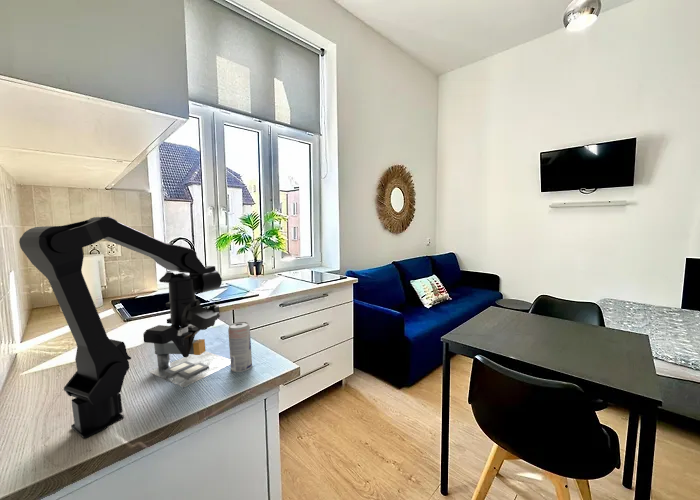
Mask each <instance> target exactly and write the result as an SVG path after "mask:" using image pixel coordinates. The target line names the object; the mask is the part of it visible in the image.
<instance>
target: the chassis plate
mask: <svg viewBox="0 0 700 500" xmlns="http://www.w3.org/2000/svg"><path fill="white" fill-rule="evenodd" d="M156 359H157V368H155V369H152V370H150V371H148V373H150V374H153V375H154V376H156V377H159V378H161V379H164V380H165V381H167V382H171V384H174V385H177V386H179V387H182V388H183V389H184V388H186V387H188V386H190V385H192V384H194V383H196V382H198V381H200V380H202V379H204V378H206V377H208V376H210V375H212V374H214V373H216V372H218V371H220V370H222V369H224V368H226V367H228V366H231V362H230V358H227V357H224V356H221V355H218V354H215V353H212V352H210V351H205V352H203V353H202V354H201V355H194V354H189V356H188V357H183V356H182V357H181V358H178V359H177V360H174V361H172V362H171V358H170V354H161V355H156ZM185 361H187V362H190V363H193V364H195V365H196V364H198V363H202V364H205V365H208V366H209V368H207V369H205V370H203V371H201V372H199V373H197V374H195V375H193V376H191V377H189V378H186V377H183V376H181V375H179V374H176V375H174V376H171V375H169V374H167V373H164V370H166V369H168V368H171V367H173V366H175V365H178V364H180V363H183V362H185Z"/></svg>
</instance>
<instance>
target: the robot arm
mask: <svg viewBox="0 0 700 500" xmlns="http://www.w3.org/2000/svg"><path fill="white" fill-rule="evenodd" d="M101 240H106V241H108V242H111V243H113V244H116V245H118V246H121V247H123V248H126V249H128V250H131V251H134V252H136V253H138V254H141V255H144V256H146V257H149V258H151V260H152V259H153V260H154V262H155V263H156V264H158V265H159V266H161V267H162V268H164V269H166V270H167V271H166V272H165V274H164V275H163V276H162V277H161V278H160V279H159V280H158V282H160V283H166V284H168V293H169V294H168V295H169V301H168V302H166V303H165V307H166V308H169V312H170V317H169V318H167V319H166V323H167V324H171V325H160V324H158V325H155V326H152V327H151V328H148V329H145V331H144V332H143V343H149V344H154V343H157V344H165V343H168V342H170V341H173V342H174V344H175V345H176V346H177V348H178V349H179V351H180V352H181V354H180V355H182V358H183V357H188V356H189V355H190V354H189V353H190V349H191V346H192V343H193V340H195V336H196V335H197V334H198V333H199V332H200V331H206V330H207V329H208V328H210V327H214V326H215V323H216V321H218V319H219V318H220V317H221V315H220V313H221V311H220V306H219V305H218V304H215V303H214V304H213V303H212V304H211V305H210V306H204V307H203V306H202V305H201V301H200V299H196V294H203V293H207V292H210V291H211V292H212V291H215V290H219V289H220V287H221V286H222V283H223V279H222V277H221V274H220V272H219V271H217V270H216V269H217V268H216V266H214V265H207V266H205V265H204V264H203V263H202V262H201V259H199V258H198V253H197V252H196V251H195V250H194V249H193V248H189V247H186V246H181V245H176V244H171V243H167V242H164V241H162V240H159V239H157V238H155V237H153V236H150V235H149V234H146V233H144V232H142V231H139V230H137V229H135V228H133V227H131V226H129V225H127V224H124V223H122V222H119V221H118V220H117V219H115V218H113V217H111V216H96V217H95V216H93V217H91V218H89V219H85V220H82V221H78V222H73V223H68V224H64V225H52V226H51V225H50V226H49V225H48V226H35V227H31V228H28V230H26V231H24V232H23V234H22V236H21V237H20V238H19V241H18V243H19V248H20V249H21V251H22V252H23V254H25V256H26V258H28V260H29V261H30V263H31V265H33V266H34V268H36V269H37V270H38V271H39V272H40V273H41V274H42V275H43V276H44V277H46V279H47V281H48V282H49V285H50V286H51V289H52V292H53V294H54V296H55V298H56V301H57V302H58V305H59V307H60V310H61V312H62V314H63V316H64V318H65V321H66V323H67V326H68V328H69V330H70V332H71V334H72V336H73V340H74V341H75V343H76V347H77V348H76V354H75V364H76V371H75V373H73V375H72V376H71V378H70V379H69V380H68V382H67V383H66V384H65V386H64V387H63V391H65V392H64V393H66V394H67V396H68V397H73V398H72V399H71V407H72V414H73V422H74V423H72V424H71V429H72V430H73V431H74V432H75V433H77V434H78V435H79V436H80V437H81V438H82V439H88V438H89V437H91V436H93V435H95V434H98V433H99V432H101V431H103V430H105V429H107V428H108V427H109V426H112V425H113V424H115V423H117V422H119V421H121V420H123V419H124V418H125V417H124V416H125V415H123V414H122V413H123V404H122V395H121V392H122V388H123V385H124V384H123V383H124V380H125V378H126V375H127V373H128V371H129V370H130V362H129V360H131V359H132V357H131V356H130V355H129V354H128V352H127V346H126V343H125V342H124V341H121V340H115V339H110V338H109V337H108V334H107V332H106V329H105V328H104V325H103V322H102V320H101V317H100V314H99V312H98V309H97V307H96V305H95V302H94V299H93V297H92V294H91V292H90V289H89V288H88V285H87V283H86V280H85V277H84V275H83V271H82V270H83V263H84V258H85V257H84V250H83V248H86V247H88V246H91V245H94V244H96V243H98V242H100V241H101ZM170 271H174V272H175V271H176V272H179V273H174V272H170Z"/></svg>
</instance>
